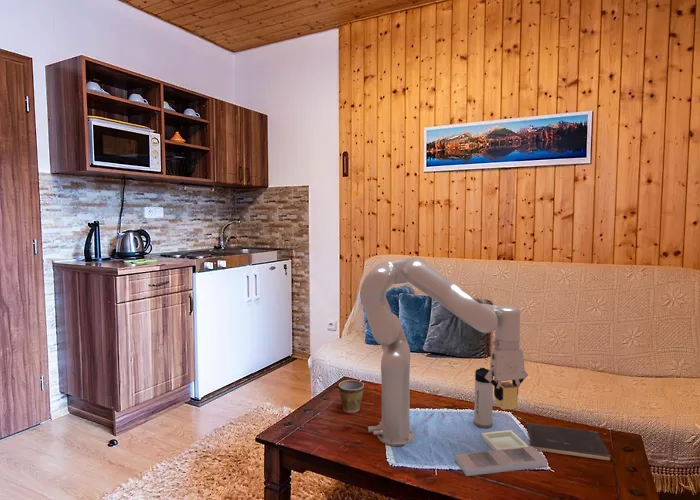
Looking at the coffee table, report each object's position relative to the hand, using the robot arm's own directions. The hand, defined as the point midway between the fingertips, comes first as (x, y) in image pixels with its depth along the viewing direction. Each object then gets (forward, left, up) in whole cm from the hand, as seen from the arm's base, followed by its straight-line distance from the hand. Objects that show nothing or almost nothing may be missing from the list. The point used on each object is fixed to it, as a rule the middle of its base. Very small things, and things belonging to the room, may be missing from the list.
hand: (506, 397), depth 141 cm
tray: (0, 0, -17) cm, 17 cm away
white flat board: (-7, -10, -17) cm, 21 cm away
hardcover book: (+21, -2, -17) cm, 27 cm away
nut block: (0, 0, -3) cm, 3 cm away
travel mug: (0, +15, -17) cm, 23 cm away
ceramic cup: (-45, +37, -17) cm, 61 cm away
